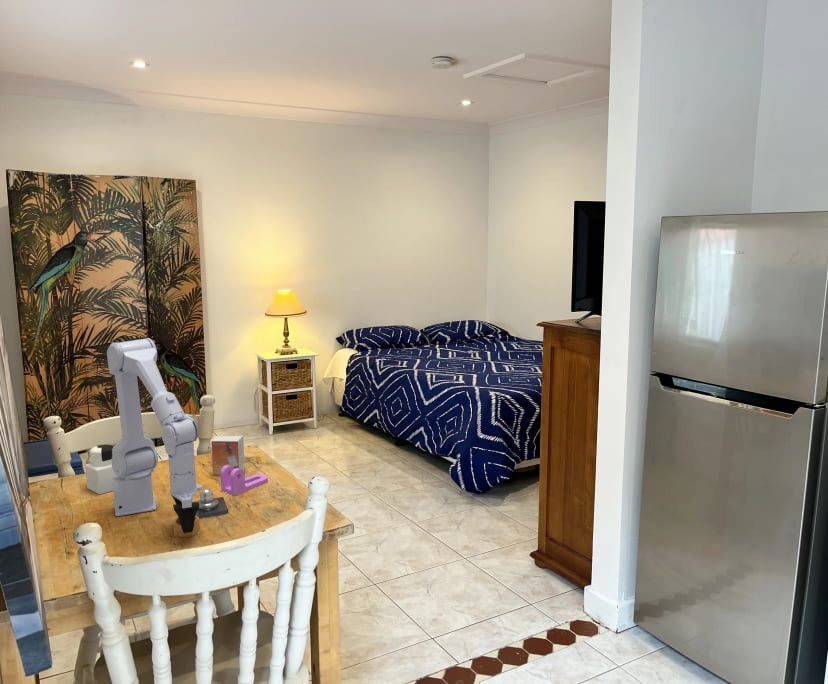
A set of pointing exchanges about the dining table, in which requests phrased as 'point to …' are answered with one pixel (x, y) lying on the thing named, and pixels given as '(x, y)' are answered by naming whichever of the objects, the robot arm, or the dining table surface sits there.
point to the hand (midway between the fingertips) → (186, 525)
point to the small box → (227, 453)
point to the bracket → (239, 480)
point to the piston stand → (210, 505)
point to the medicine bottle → (100, 470)
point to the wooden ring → (178, 529)
